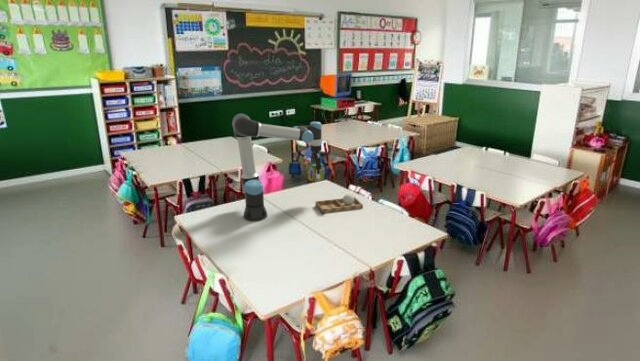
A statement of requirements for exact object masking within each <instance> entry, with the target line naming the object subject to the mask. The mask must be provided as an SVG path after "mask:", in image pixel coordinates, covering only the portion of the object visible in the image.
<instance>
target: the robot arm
mask: <svg viewBox="0 0 640 361" xmlns="http://www.w3.org/2000/svg"><path fill="white" fill-rule="evenodd" d="M231 126H232V129H233V135H234V138H236V139H237V144H238V151H239V157H240V162H241V163H240V164H241V170H242V174H241V175H240V179H241V188H242V190H243V193H244V197H245V198H244V199H245V207H244V211H243V219H244V220H246V221H250V222H259V221H263V220H265V219H267V217H268V212H267V208H266V207H265V201H264V200H265V199H264V198H265V197H264V184H263V182H262V181H260V176H259V173H258V172H257V171H256V170H257V169H256V163H255V157H254V149H253V143H252V137H253V138H258V137H266V138H274V139H280V140H281V139H282V140H293V141H299V142H304V143H306V144H310V146H309V147H310V149H309V150H310V151H311V152H310V153H311V154H310V163H312V160H313V159H314V160H315V161H314V162H316V179H317V178H320V169H321V163H322V162H321V160H322V159H321V154H320V152H321V151H322V141H323V140H322V130H323V129H322V123H321V122H320V121H311V122H310V123H309V125H296V126H293V127H288V126H281V125H276V124H275V125H273V124H268V123H261V122H259V121H258V120H257V121H256V120H253V119H251V118H250V116H248V115H247V114H244V113H238V114H236V115H235V116H234V117H233V118H232V120H231Z"/></svg>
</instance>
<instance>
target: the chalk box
mask: <svg viewBox="0 0 640 361" xmlns="http://www.w3.org/2000/svg"><path fill="white" fill-rule="evenodd" d="M314 161H315V160H314V159H313V160H312V163H311V162H308V163H307V164H306V165H307V166H306V169H307V171H306V172H307V174H306V176H307V180H309V181H310V182H313V183H317V182H323V181H325V168H326V167H325V164H323V163H322V162H321V169H320V178H317V179H316V162H314Z"/></svg>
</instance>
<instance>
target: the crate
mask: <svg viewBox="0 0 640 361" xmlns="http://www.w3.org/2000/svg"><path fill="white" fill-rule="evenodd" d="M353 197H354V203H353V204H352V205H350V206H347V205H345V204H344V203H343V197H342V198H334V199H333V198H332V199H325V200H324V199H323V200H317V201H316V200H315V207H316V209H317V210H318V211H319V212H320V214H321V215H326V213H333V212H342V211H351V210H358V209H359V210H360V209H363V208H364V204H363V203H362V202H361V201H360V200H359V199H357V198H356V197H355V196H353Z"/></svg>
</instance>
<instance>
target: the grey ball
mask: <svg viewBox="0 0 640 361" xmlns="http://www.w3.org/2000/svg"><path fill="white" fill-rule="evenodd" d="M354 197H355V196H354V195H352V193H351V194H350V193H347V194H344V196H343V197H342V198H343V203H344V204H345V205H347V206H350V205H352V204H353V203H354Z"/></svg>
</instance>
